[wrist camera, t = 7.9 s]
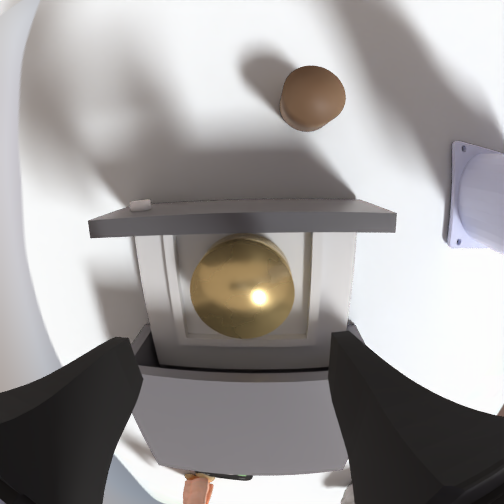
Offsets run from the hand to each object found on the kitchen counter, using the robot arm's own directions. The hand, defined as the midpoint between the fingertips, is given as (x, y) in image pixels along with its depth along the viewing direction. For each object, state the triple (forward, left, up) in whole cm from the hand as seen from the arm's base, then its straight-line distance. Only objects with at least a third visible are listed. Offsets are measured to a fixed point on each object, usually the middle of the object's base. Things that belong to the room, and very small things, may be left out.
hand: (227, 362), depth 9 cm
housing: (0, +11, -10) cm, 15 cm away
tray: (0, +1, -10) cm, 10 cm away
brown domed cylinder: (-4, -10, -10) cm, 15 cm away
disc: (0, 0, -8) cm, 8 cm away
